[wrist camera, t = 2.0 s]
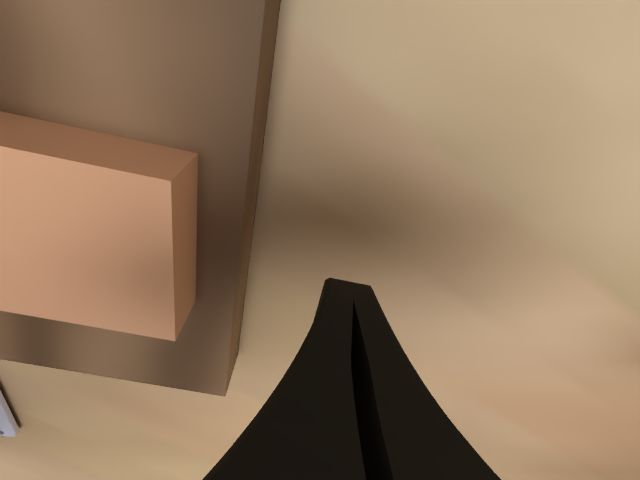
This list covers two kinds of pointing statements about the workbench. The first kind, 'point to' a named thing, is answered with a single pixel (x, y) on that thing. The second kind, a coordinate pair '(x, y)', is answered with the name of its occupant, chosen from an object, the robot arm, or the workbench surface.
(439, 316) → the workbench surface
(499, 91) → the workbench surface
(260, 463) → the robot arm
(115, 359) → the deck
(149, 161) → the tile
